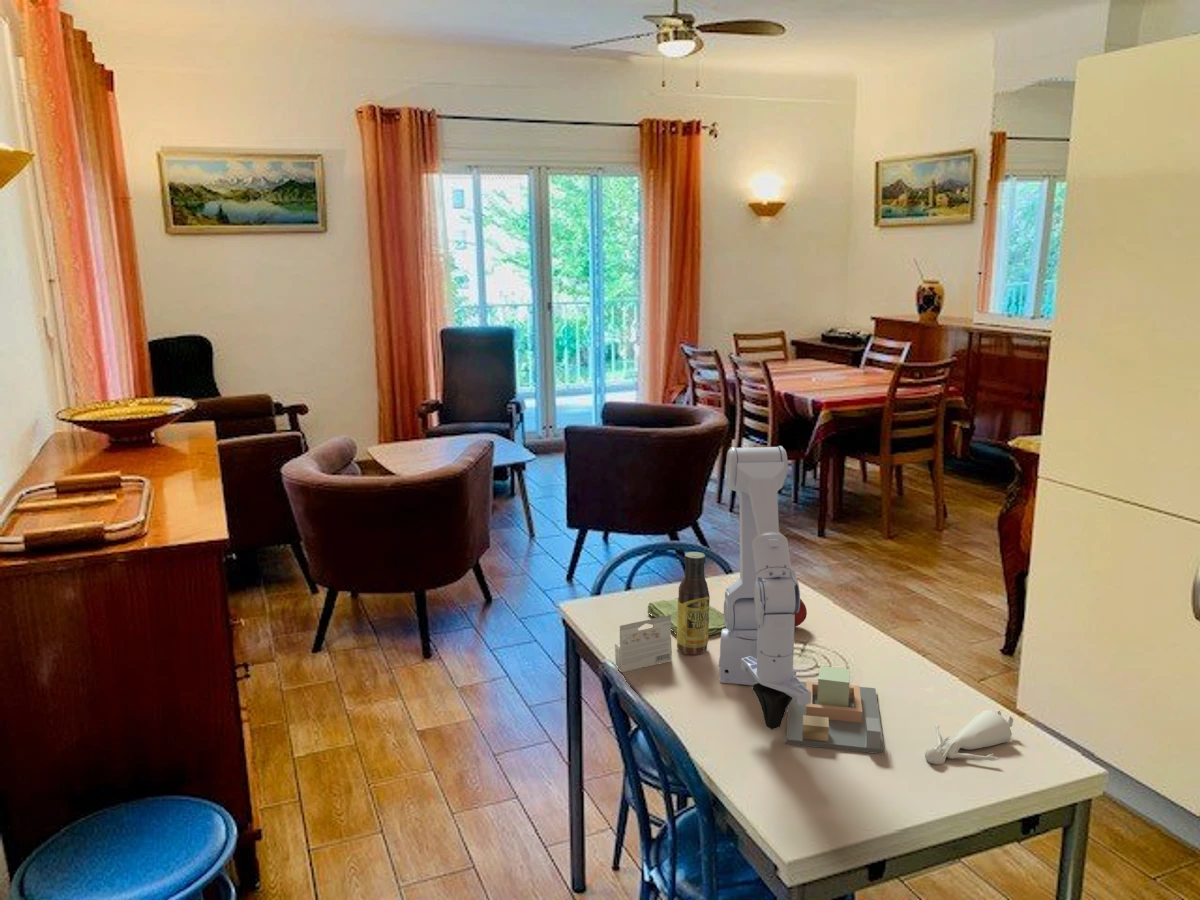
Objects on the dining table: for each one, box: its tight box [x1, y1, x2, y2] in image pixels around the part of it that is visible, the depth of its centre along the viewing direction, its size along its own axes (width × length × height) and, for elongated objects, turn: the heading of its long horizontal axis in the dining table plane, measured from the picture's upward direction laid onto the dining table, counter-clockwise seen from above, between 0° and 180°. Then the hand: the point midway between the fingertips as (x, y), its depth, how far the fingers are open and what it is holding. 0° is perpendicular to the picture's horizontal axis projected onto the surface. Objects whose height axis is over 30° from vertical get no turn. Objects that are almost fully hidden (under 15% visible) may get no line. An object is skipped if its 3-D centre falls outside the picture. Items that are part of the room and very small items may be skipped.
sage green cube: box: [817, 665, 851, 707], centre depth 149 cm, size 5×5×6 cm
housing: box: [785, 680, 885, 755], centre depth 147 cm, size 15×20×4 cm
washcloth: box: [647, 597, 727, 637], centre depth 187 cm, size 13×18×3 cm
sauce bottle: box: [676, 551, 711, 656], centre depth 172 cm, size 7×6×20 cm
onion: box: [794, 598, 808, 628], centre depth 182 cm, size 6×6×8 cm
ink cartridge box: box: [614, 615, 673, 673], centre depth 167 cm, size 2×11×10 cm, turn 113°
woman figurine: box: [924, 709, 1014, 765], centre depth 138 cm, size 12×4×18 cm
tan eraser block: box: [802, 715, 829, 741], centre depth 140 cm, size 4×3×2 cm
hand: (773, 726), depth 142 cm, fingers closed
